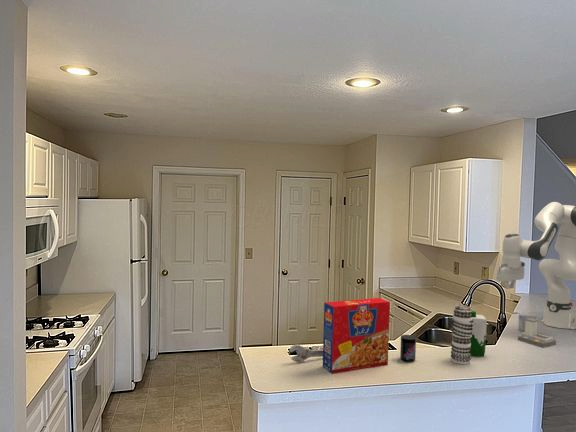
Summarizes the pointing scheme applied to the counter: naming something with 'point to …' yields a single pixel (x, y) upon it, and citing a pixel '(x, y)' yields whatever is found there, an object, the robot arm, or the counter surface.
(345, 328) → the pasta box
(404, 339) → the supplement container
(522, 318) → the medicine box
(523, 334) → the switch panel
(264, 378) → the counter surface
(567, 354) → the counter surface
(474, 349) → the milk carton
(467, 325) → the leaning tower model
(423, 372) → the counter surface
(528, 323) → the switch tab
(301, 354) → the wrench
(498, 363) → the counter surface
